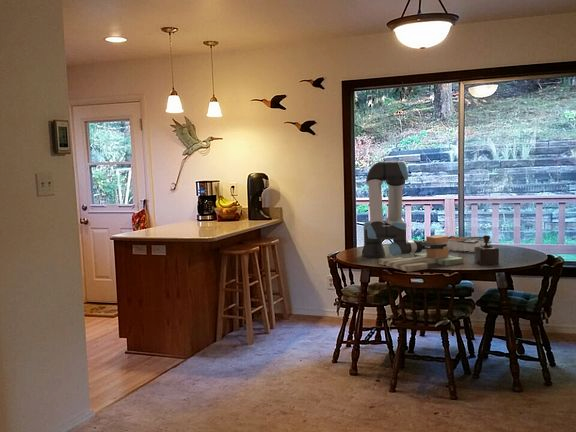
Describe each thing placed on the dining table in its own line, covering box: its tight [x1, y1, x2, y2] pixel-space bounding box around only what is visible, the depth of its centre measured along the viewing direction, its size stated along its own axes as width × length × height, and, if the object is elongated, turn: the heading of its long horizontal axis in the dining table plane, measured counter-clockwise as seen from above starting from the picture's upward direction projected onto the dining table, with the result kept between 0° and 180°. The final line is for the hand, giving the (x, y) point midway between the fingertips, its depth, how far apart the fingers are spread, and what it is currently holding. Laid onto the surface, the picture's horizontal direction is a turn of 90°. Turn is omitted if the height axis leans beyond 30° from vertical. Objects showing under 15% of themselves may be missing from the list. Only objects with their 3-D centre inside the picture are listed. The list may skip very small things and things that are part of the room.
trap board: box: [378, 251, 464, 273], centre depth 329 cm, size 28×40×3 cm
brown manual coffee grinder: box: [473, 234, 500, 266], centre depth 318 cm, size 16×11×18 cm
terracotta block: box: [425, 234, 450, 258], centre depth 334 cm, size 8×10×12 cm
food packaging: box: [448, 235, 485, 253], centre depth 371 cm, size 25×8×23 cm
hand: (441, 243), depth 335 cm, fingers open, 13 cm apart
